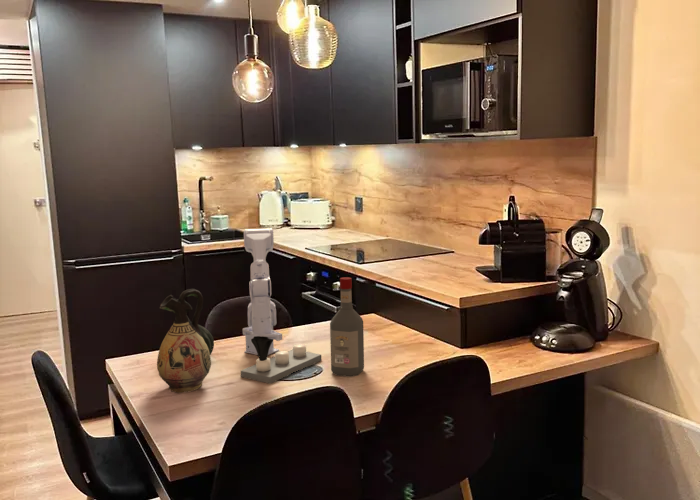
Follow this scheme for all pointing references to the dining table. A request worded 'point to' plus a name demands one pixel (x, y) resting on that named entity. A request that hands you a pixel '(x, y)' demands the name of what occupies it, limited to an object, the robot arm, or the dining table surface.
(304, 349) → the knob
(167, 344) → the ceramic jug
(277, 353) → the knob middle
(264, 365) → the knob
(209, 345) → the squash
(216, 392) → the dining table surface
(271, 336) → the robot arm
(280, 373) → the mount board
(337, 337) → the liquor
